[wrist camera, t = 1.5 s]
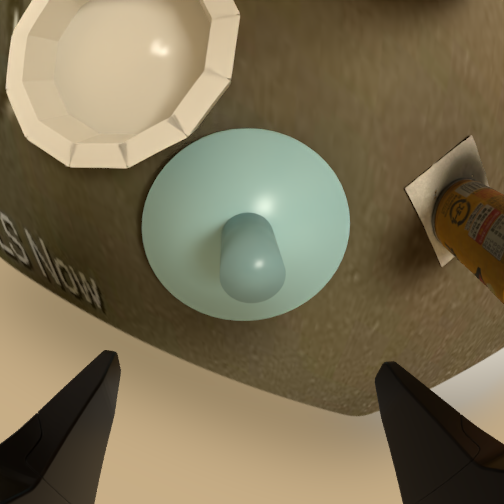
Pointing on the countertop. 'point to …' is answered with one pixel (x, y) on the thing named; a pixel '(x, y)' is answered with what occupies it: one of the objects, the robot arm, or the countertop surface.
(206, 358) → the countertop surface
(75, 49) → the bowl
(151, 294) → the countertop surface
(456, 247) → the condiment
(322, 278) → the lid
